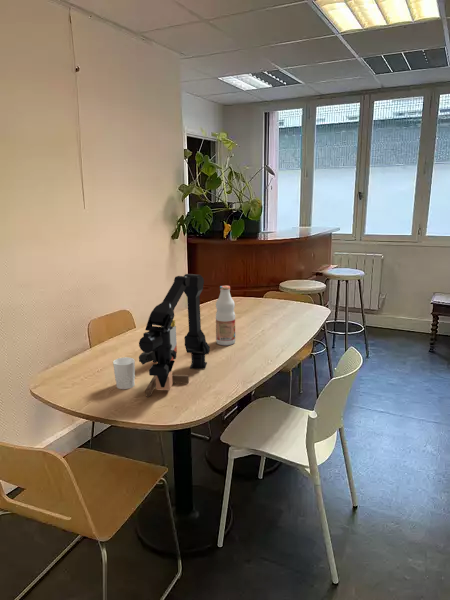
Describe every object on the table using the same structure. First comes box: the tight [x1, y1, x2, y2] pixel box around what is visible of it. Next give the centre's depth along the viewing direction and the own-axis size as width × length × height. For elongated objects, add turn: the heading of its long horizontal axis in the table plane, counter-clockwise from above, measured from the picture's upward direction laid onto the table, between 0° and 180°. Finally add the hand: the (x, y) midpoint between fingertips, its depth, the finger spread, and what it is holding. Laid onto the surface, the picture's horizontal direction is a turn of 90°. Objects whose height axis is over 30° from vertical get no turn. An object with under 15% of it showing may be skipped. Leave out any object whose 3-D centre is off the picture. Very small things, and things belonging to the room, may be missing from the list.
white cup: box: [112, 356, 136, 390], centre depth 167 cm, size 8×8×10 cm
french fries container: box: [170, 319, 178, 361], centre depth 191 cm, size 5×11×18 cm, turn 153°
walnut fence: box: [145, 374, 190, 398], centre depth 165 cm, size 14×13×3 cm
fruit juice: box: [215, 285, 236, 346], centre depth 213 cm, size 9×9×28 cm
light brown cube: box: [155, 371, 174, 391], centre depth 162 cm, size 5×5×5 cm
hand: (164, 384), depth 162 cm, fingers closed on light brown cube, 5 cm apart
